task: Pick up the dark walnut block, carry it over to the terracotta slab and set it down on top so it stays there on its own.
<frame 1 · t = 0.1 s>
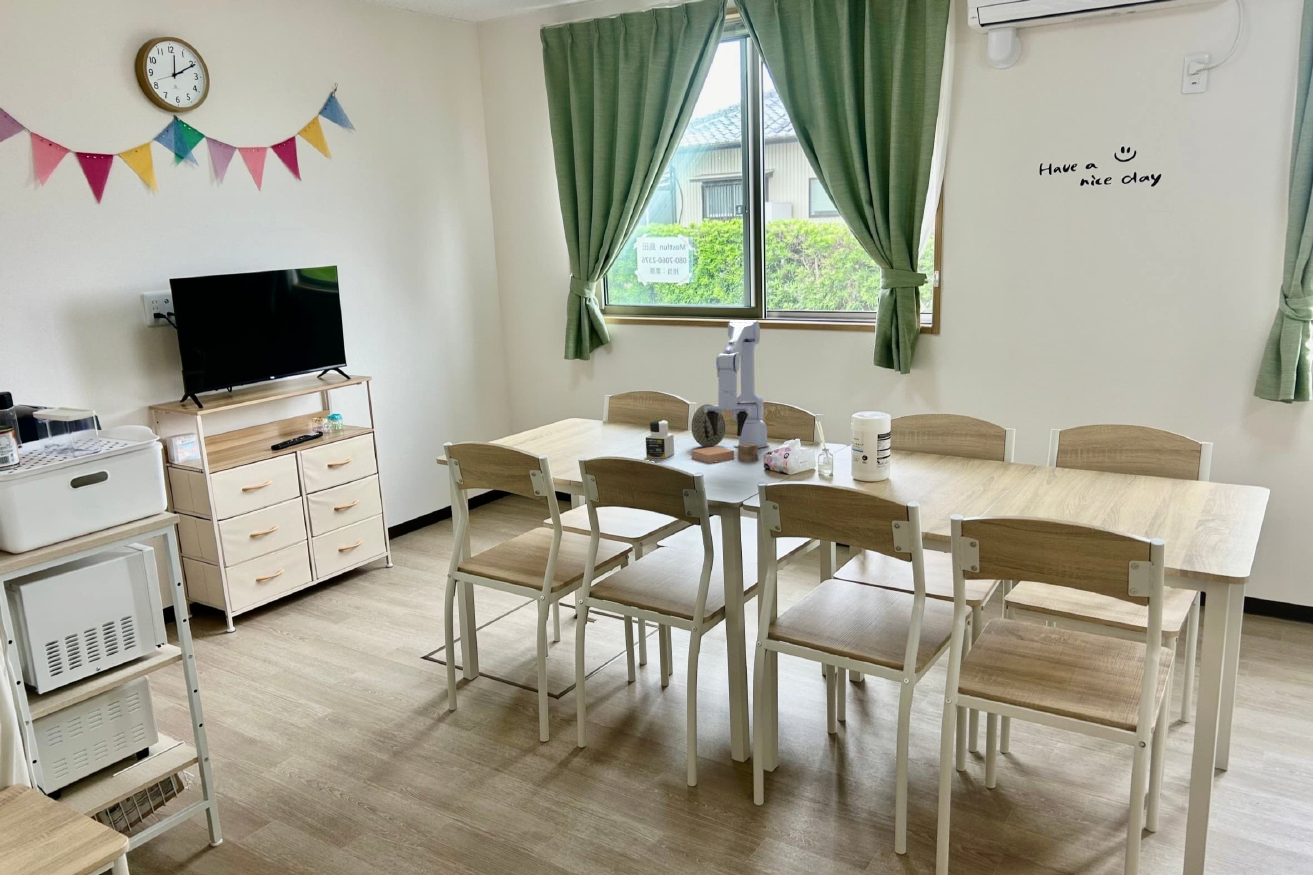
hand: (727, 435, 299), 10 cm above the table, tool pointing down, fingers open, 7 cm apart
walnut block: (748, 460, 311), on the table
decorative egg: (709, 447, 333), on the table
terracotta slab: (712, 459, 316), on the table
medicine bottle: (660, 456, 323), on the table
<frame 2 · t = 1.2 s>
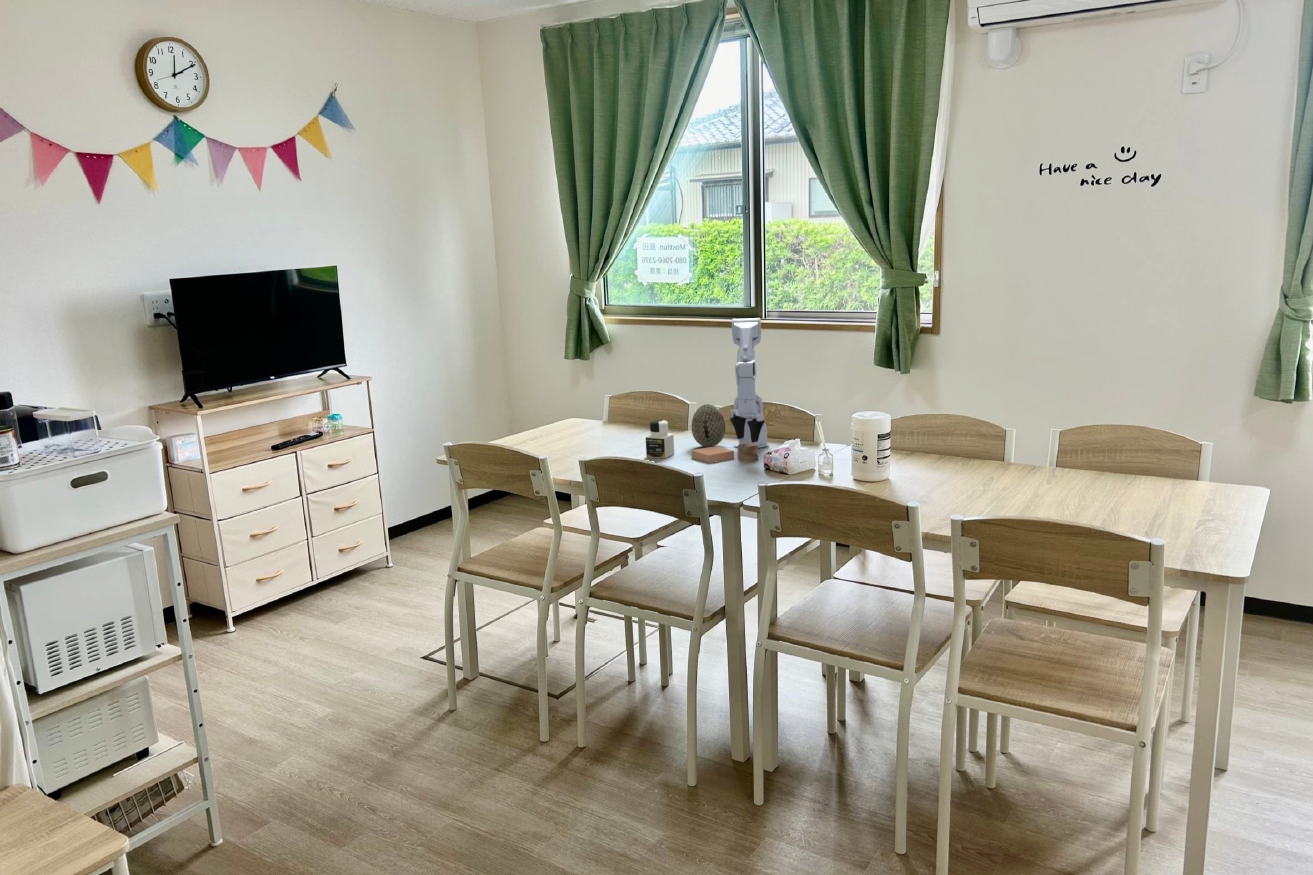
hand: (747, 440, 310), 7 cm above the table, tool pointing down, fingers open, 7 cm apart
nothing on the table moved.
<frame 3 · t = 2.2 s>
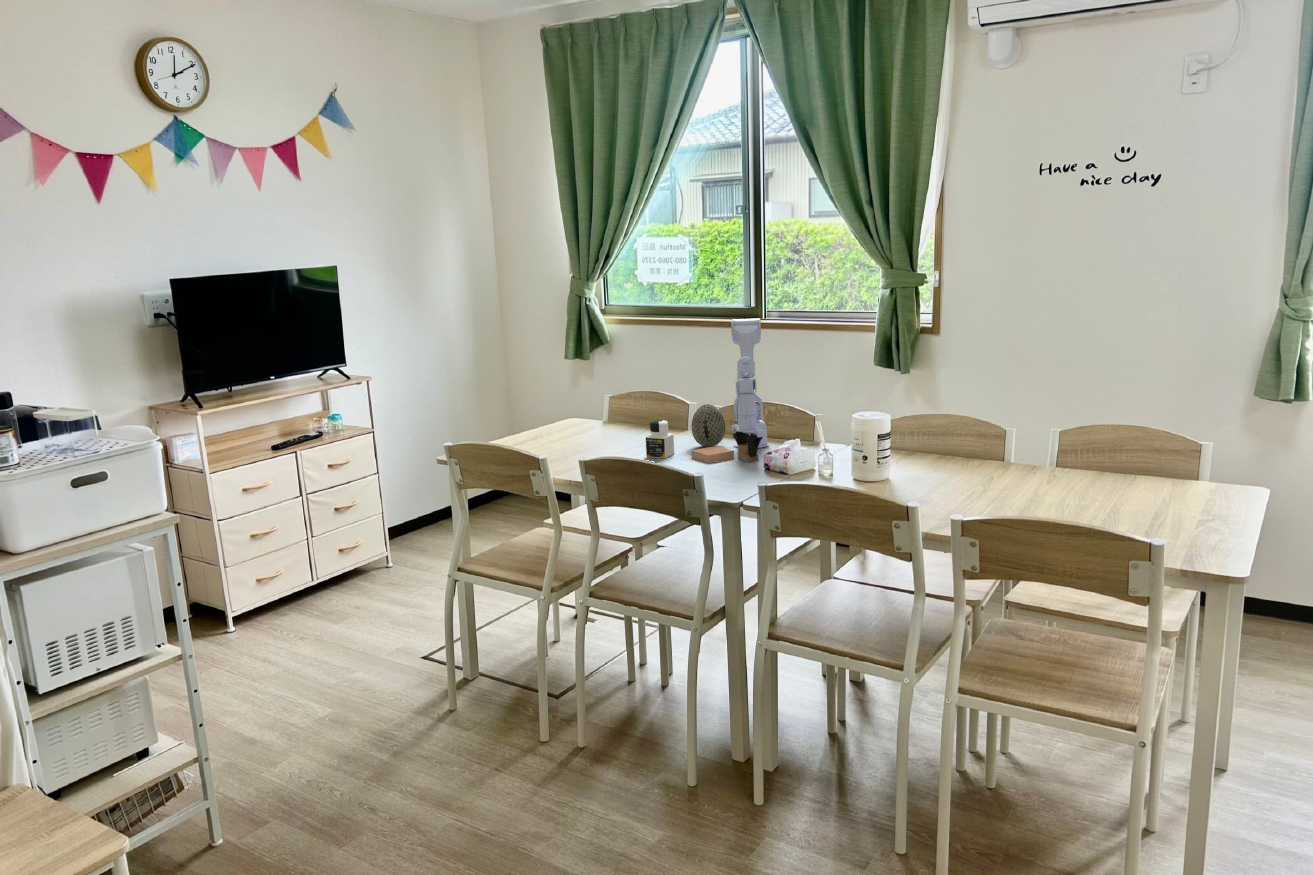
hand: (748, 455, 311), 1 cm above the table, tool pointing down, fingers closed on walnut block, 5 cm apart
walnut block: (748, 459, 311), on the table, touching gripper
everything else where it was.
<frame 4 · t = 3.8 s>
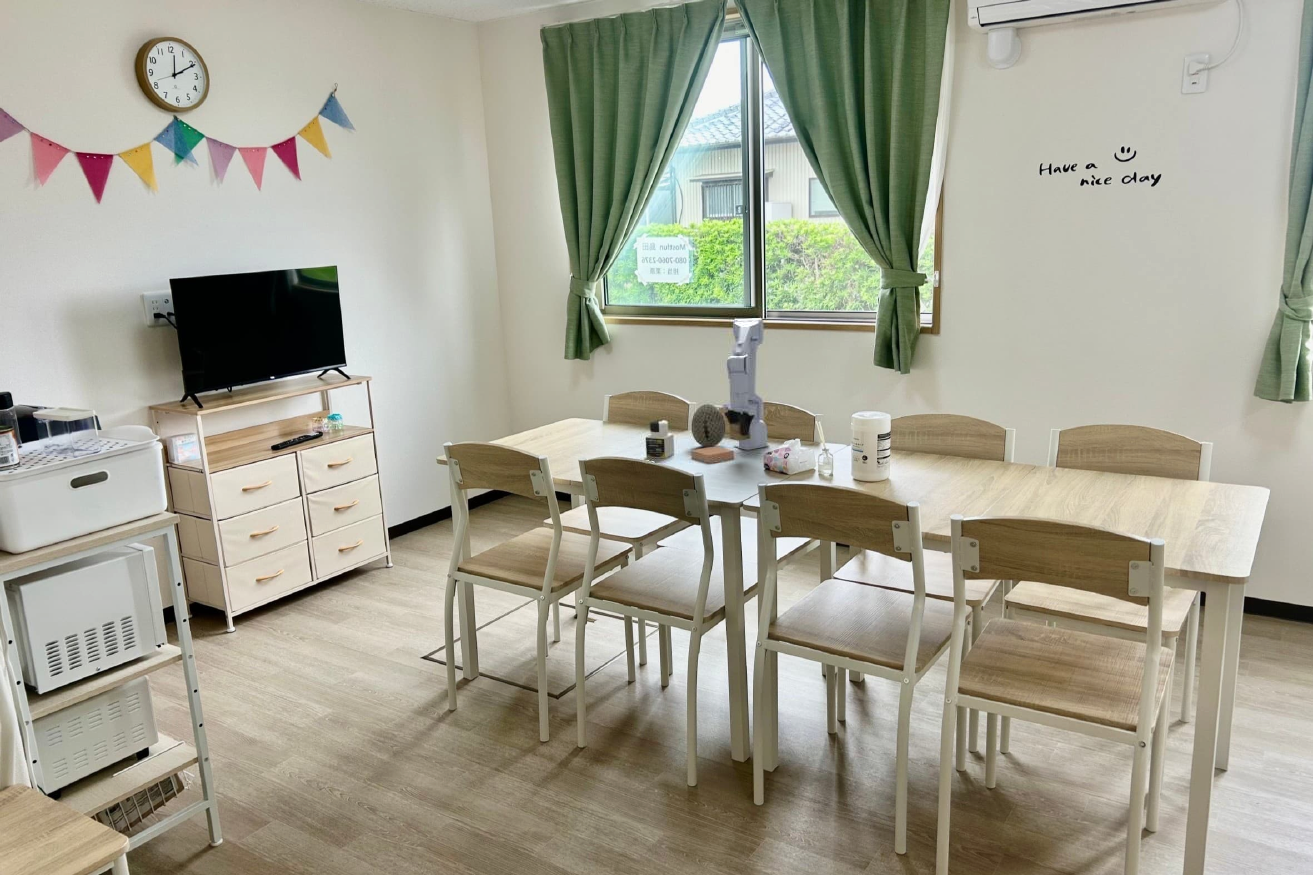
hand: (740, 434, 310), 8 cm above the table, tool pointing down, fingers closed on walnut block, 5 cm apart
walnut block: (740, 438, 311), point 7 cm above the table, touching gripper
everything else where it was.
when the fingers open (6 cm above the table, at t = 5.3 s): walnut block drops 2 cm, point 3 cm above the table.
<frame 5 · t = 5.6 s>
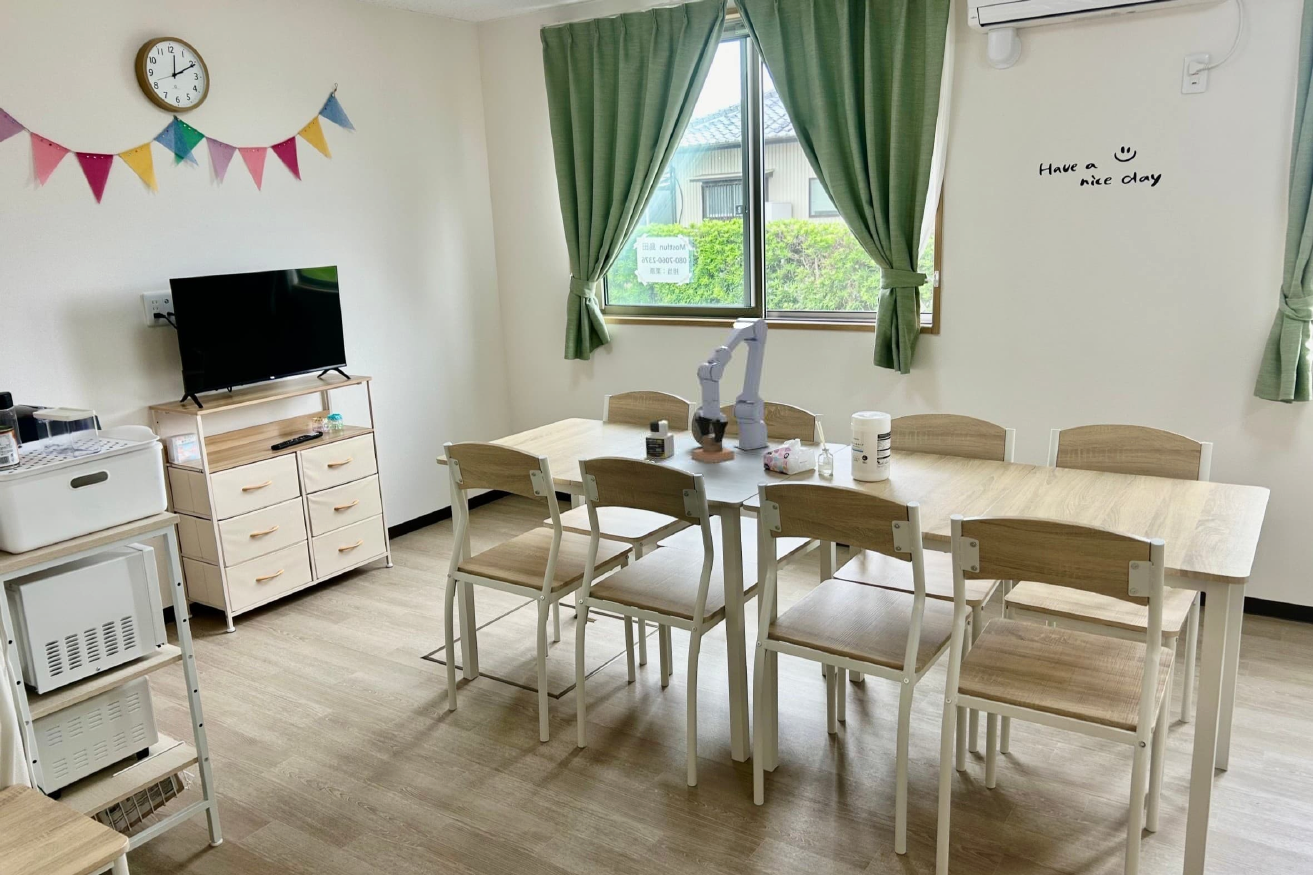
hand: (712, 440, 315), 6 cm above the table, tool pointing down, fingers open, 7 cm apart
walnut block: (712, 450, 315), point 3 cm above the table
everything else where it was.
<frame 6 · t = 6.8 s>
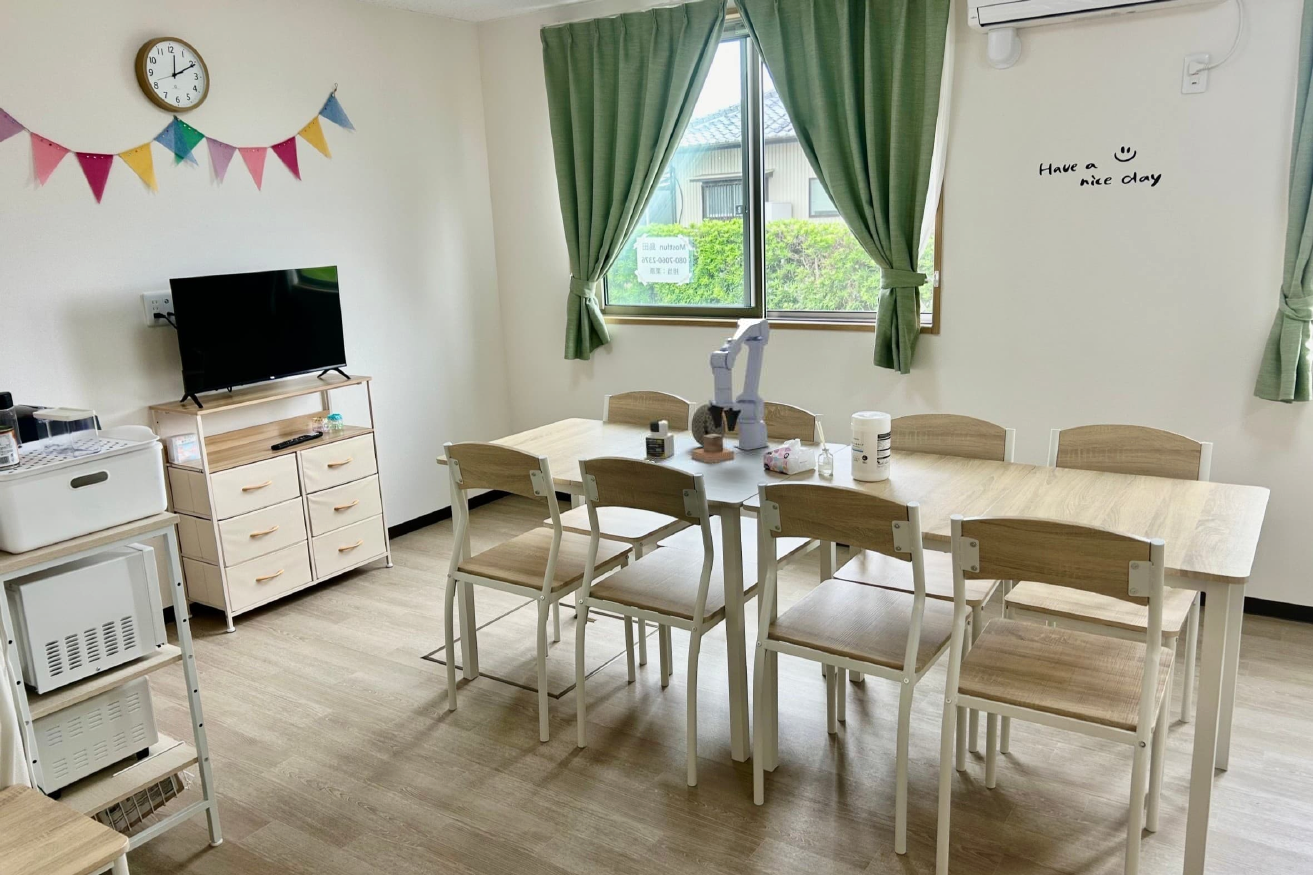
hand: (724, 429, 313), 10 cm above the table, tool pointing down, fingers open, 7 cm apart
walnut block: (713, 450, 316), point 2 cm above the table, touching terracotta slab
terracotta slab: (712, 459, 316), on the table, touching walnut block
everything else where it was.
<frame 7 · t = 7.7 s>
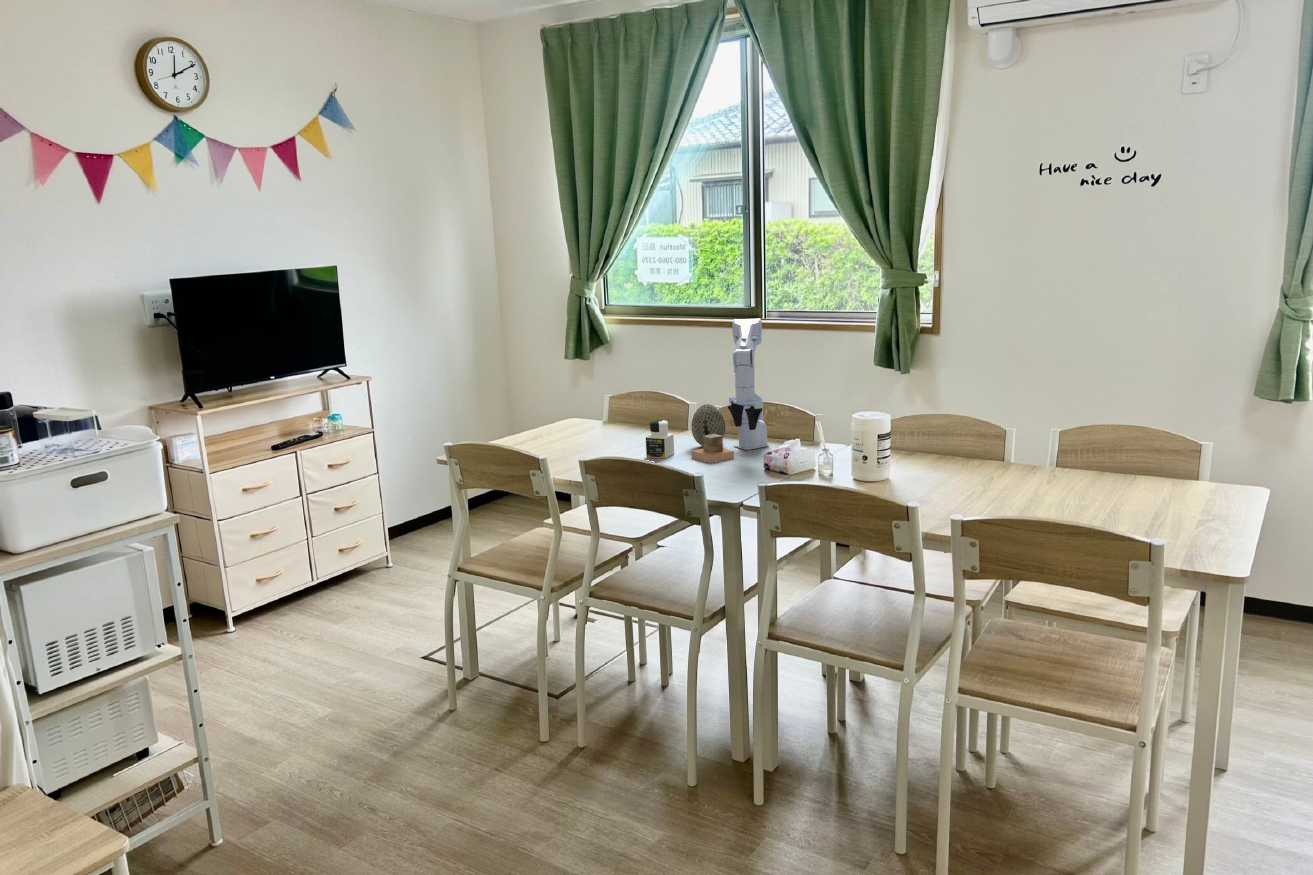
hand: (745, 427, 310), 10 cm above the table, tool pointing down, fingers open, 7 cm apart
nothing on the table moved.
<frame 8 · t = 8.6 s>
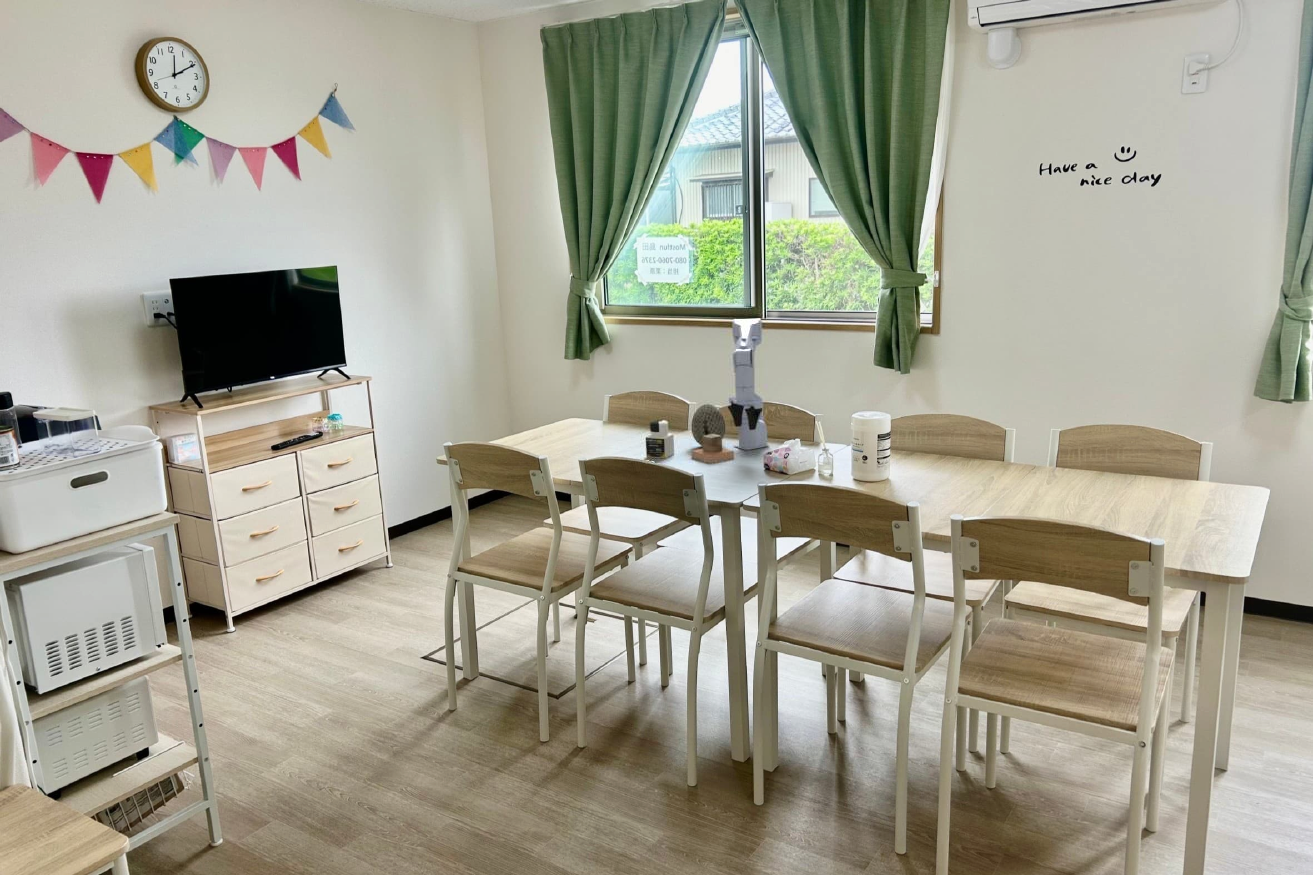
hand: (745, 427, 310), 10 cm above the table, tool pointing down, fingers open, 7 cm apart
nothing on the table moved.
at the end: walnut block inside the target area on the terracotta slab (0.1 cm from its centre), point 3.0 cm above the terracotta slab's base; walnut block touching nothing; the gripper is holding nothing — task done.
